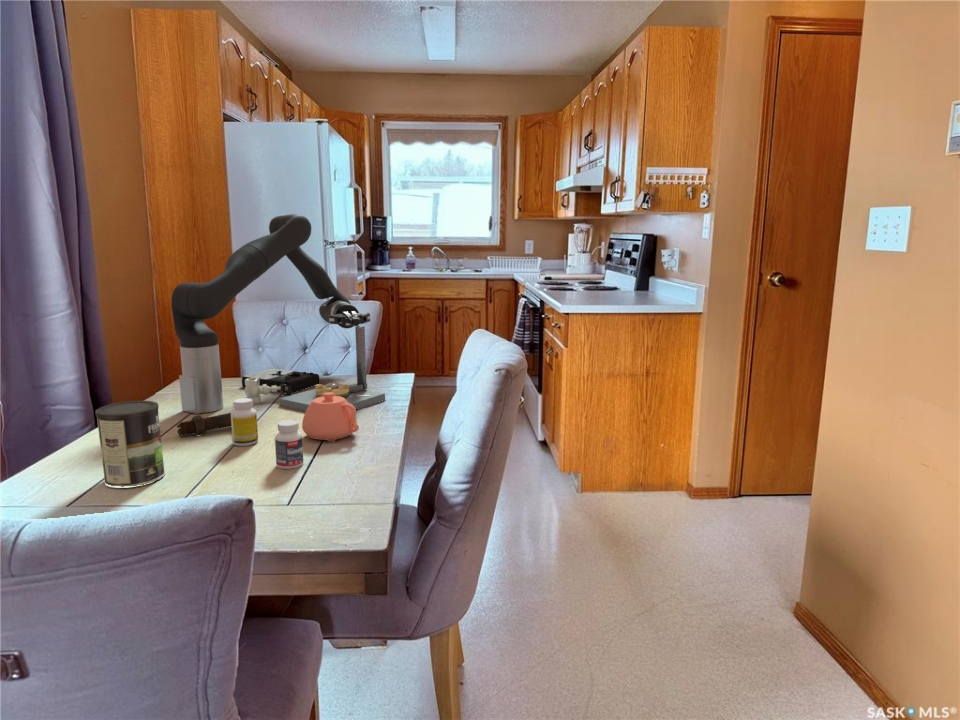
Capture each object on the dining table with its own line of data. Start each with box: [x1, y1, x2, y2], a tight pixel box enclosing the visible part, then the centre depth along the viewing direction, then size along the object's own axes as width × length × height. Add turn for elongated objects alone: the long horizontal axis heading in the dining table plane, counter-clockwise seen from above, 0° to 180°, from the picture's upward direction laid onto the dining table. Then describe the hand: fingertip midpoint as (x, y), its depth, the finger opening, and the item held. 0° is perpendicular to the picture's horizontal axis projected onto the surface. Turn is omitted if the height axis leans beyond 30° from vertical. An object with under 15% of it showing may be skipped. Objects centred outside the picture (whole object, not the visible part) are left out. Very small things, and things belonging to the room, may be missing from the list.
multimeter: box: [241, 368, 321, 394], centre depth 194 cm, size 13×19×5 cm
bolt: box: [175, 411, 232, 437], centre depth 149 cm, size 6×5×15 cm
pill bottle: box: [274, 419, 304, 470], centre depth 127 cm, size 5×5×9 cm
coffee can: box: [95, 400, 166, 487], centre depth 119 cm, size 10×10×14 cm
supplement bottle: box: [230, 397, 259, 447], centre depth 141 cm, size 5×5×10 cm
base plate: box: [279, 388, 386, 412], centre depth 174 cm, size 20×20×2 cm
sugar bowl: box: [301, 392, 360, 442], centre depth 145 cm, size 12×14×10 cm
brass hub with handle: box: [314, 325, 368, 398], centre depth 175 cm, size 15×9×18 cm, turn 135°
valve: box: [244, 376, 292, 404], centre depth 176 cm, size 7×7×12 cm
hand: (356, 322), depth 183 cm, fingers closed
